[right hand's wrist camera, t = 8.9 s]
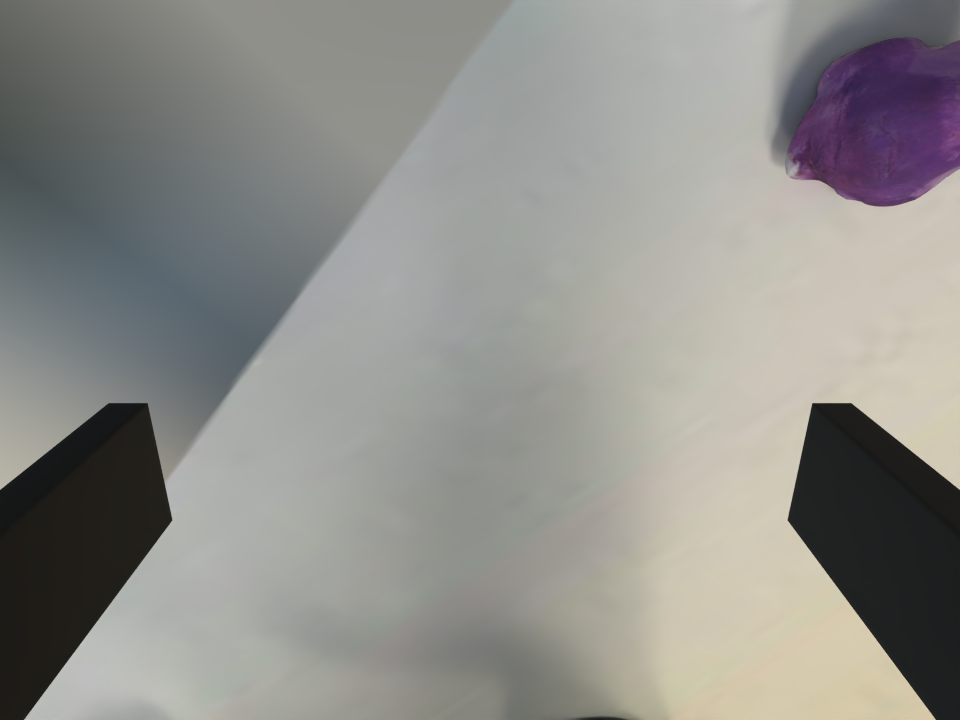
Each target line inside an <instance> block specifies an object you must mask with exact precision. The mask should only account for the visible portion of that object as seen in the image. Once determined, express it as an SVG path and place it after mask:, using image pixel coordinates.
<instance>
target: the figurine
mask: <svg viewBox="0 0 960 720" xmlns="http://www.w3.org/2000/svg"><path fill="white" fill-rule="evenodd" d="M785 167H786V174H787V175H788V176H789V177H790V178H792V179H797V180H820V181H822V182H824V183H826V184H827V185H829V186H831V187H832V188H834V190H835V191H836V193H837V194H839V195H840V196H842V197H843V198H845V199H848V200H856V201H861V202H863V203H865V204H867V205H872V206H895V205H900V204H903V203H906V202H909V201H912V200H915V199H917V198H919V197H921V196H922V195H923V194H925V193H926V192H928V191H929V190H931V189H932V188H934V187H935V186H936V185H937V184H939V183H940V182H941V181H943V180H944V179H945V178H946V177H948V176H949V175H951V174H952V173H954V172H956V171H957V170H959V169H960V40H958V41H955V42H953V43H950V44H948V45H946V46H936V47H927V46H926V45H925V44H924V43H923V42H922V41H921V40H919V39H915V38H895V39H889V40H885V41H881V42H878V43H875V44H872V45H869V46H867V47H864V48H862V49H859V50H857V51H854V52H851V53H848V54H846V55H845V56H843V57H841V58H839V59H837V60H835V61H834V62H833V63H832V64H831V65H830V66H829V67H828V68H827V69H826V70H825V71H824V73H823V75H822V77H821V79H820V82H819V85H818V88H817V96H816V99H815V101H814V103H813V105H812V106H811V107H810V109H809V110H808V111H807V113H806V114H805V116H804V117H803V119H802V121H801V123H800V125H799V127H798V129H797V131H796V133H795V135H794V137H793V139H792V141H791V143H790V145H789V148H788V151H787V156H786V164H785Z"/></svg>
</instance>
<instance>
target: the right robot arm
mask: <svg viewBox="0 0 960 720" xmlns="http://www.w3.org/2000/svg"><path fill="white" fill-rule="evenodd" d="M171 521H172V516H171V511H170V507H169V502H168V497H167V493H166V488H165V483H164V479H163V474H162V469H161V465H160V460H159V455H158V450H157V446H156V441H155V436H154V431H153V427H152V422H151V417H150V413H149V408H148V404H147V403H109V404H107V405H106V406H105V407H104V408H102V409H101V410H100V411H98V412H97V413H96V414H95V415H94V416H92V417H91V418H90V419H88V420H87V421H86V422H85V423H83V424H82V425H81V426H80V427H79V428H77V429H76V430H75V431H73V432H72V433H71V434H70V435H68V436H67V437H66V438H65V439H63V440H62V441H61V442H60V443H58V444H57V445H56V446H55V447H53V448H52V449H51V450H50V451H48V452H47V453H46V454H45V455H43V456H42V457H41V458H40V459H38V460H37V461H36V462H35V463H33V464H32V465H31V466H30V467H28V468H27V469H26V470H25V471H23V472H22V473H21V474H20V475H18V476H17V477H16V478H15V479H13V480H12V481H11V482H10V483H8V484H7V485H6V486H5V487H3V488H2V489H1V490H0V720H24V719H25V718H26V716H27V715H28V714H29V712H30V711H31V710H32V708H33V707H34V706H35V704H36V703H37V701H38V700H39V699H40V697H41V696H42V695H43V693H44V692H45V691H46V689H47V688H48V687H49V685H50V684H51V683H52V681H53V680H54V679H55V677H56V676H57V675H58V673H59V672H60V671H61V669H62V668H63V667H64V665H65V664H66V663H67V661H68V660H69V658H70V657H71V656H72V654H73V653H74V652H75V650H76V649H77V648H78V646H79V645H80V644H81V642H82V641H83V640H84V638H85V637H86V636H87V634H88V633H89V632H90V630H91V629H92V628H93V626H94V625H95V624H96V622H97V621H98V619H99V618H100V617H101V615H102V614H103V613H104V611H105V610H106V609H107V607H108V606H109V605H110V603H111V602H112V601H113V599H114V598H115V597H116V595H117V594H118V593H119V591H120V590H121V589H122V587H123V586H124V585H125V583H126V582H127V581H128V579H129V578H130V576H131V575H132V574H133V572H134V571H135V570H136V568H137V567H138V566H139V564H140V563H141V562H142V560H143V559H144V558H145V556H146V555H147V554H148V552H149V551H150V550H151V548H152V547H153V546H154V544H155V543H156V542H157V540H158V539H159V537H160V536H161V535H162V533H163V532H164V531H165V529H166V528H167V527H168V525H169V524H170V523H171ZM788 521H789V523H790V524H791V525H792V527H793V528H794V529H795V531H796V532H797V533H798V535H799V536H800V537H801V539H802V540H803V542H804V543H805V544H806V546H807V547H808V548H809V550H810V551H811V552H812V554H813V555H814V556H815V558H816V559H817V560H818V562H819V563H820V564H821V566H822V567H823V568H824V570H825V571H826V572H827V574H828V575H829V576H830V578H831V579H832V581H833V582H834V583H835V585H836V586H837V587H838V589H839V590H840V591H841V593H842V594H843V595H844V597H845V598H846V599H847V601H848V602H849V603H850V605H851V606H852V607H853V609H854V610H855V611H856V613H857V614H858V615H859V617H860V618H861V619H862V621H863V622H864V624H865V625H866V626H867V628H868V629H869V630H870V632H871V633H872V634H873V636H874V637H875V638H876V640H877V641H878V642H879V644H880V645H881V646H882V648H883V649H884V650H885V652H886V653H887V654H888V656H889V657H890V658H891V660H892V661H893V663H894V664H895V665H896V667H897V668H898V669H899V671H900V672H901V673H902V675H903V676H904V677H905V679H906V680H907V681H908V683H909V684H910V685H911V687H912V688H913V689H914V691H915V692H916V693H917V695H918V696H919V697H920V699H921V700H922V701H923V703H924V704H925V706H926V707H927V708H928V710H929V711H930V712H931V714H932V715H933V716H934V718H935V719H936V720H960V490H959V489H958V488H957V487H955V486H954V485H953V484H952V483H950V482H949V481H948V480H947V479H945V478H944V477H943V476H942V475H940V474H939V473H938V472H937V471H935V470H934V469H933V468H932V467H930V466H929V465H928V464H927V463H925V462H924V461H923V460H922V459H920V458H919V457H918V456H917V455H915V454H914V453H913V452H912V451H910V450H909V449H908V448H907V447H905V446H904V445H903V444H902V443H900V442H899V441H898V440H897V439H895V438H894V437H893V436H892V435H890V434H889V433H888V432H887V431H885V430H884V429H883V428H882V427H880V426H879V425H878V424H877V423H875V422H874V421H873V420H872V419H870V418H869V417H868V416H867V415H865V414H864V413H863V412H862V411H860V410H859V409H858V408H857V407H855V406H854V405H853V404H851V403H812V408H811V413H810V417H809V422H808V427H807V431H806V436H805V441H804V446H803V450H802V455H801V460H800V464H799V469H798V474H797V479H796V483H795V488H794V493H793V497H792V502H791V507H790V511H789V516H788Z"/></svg>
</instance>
